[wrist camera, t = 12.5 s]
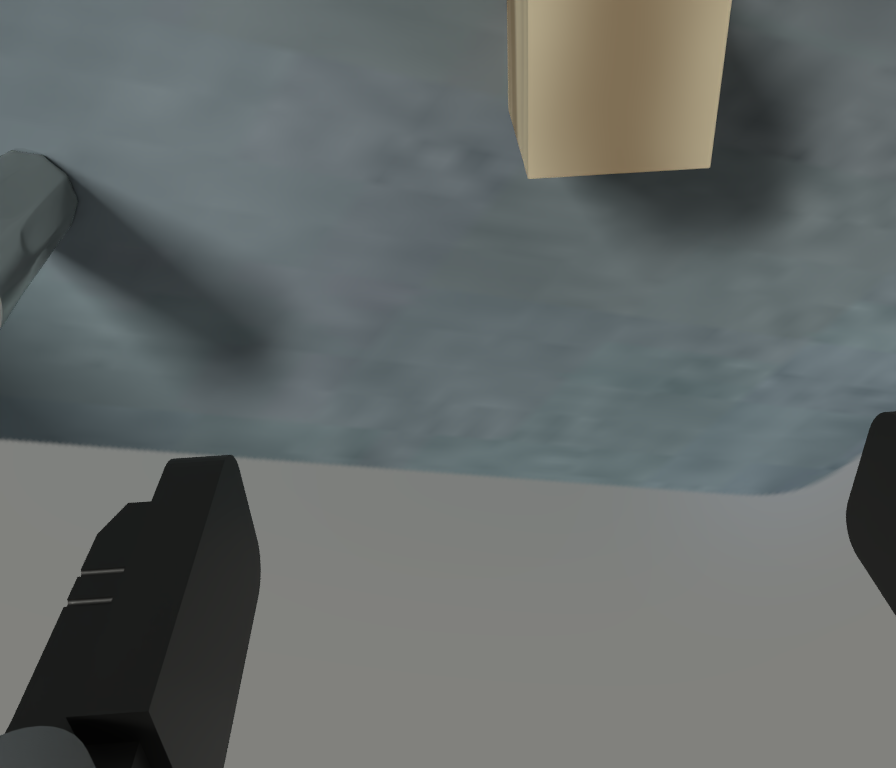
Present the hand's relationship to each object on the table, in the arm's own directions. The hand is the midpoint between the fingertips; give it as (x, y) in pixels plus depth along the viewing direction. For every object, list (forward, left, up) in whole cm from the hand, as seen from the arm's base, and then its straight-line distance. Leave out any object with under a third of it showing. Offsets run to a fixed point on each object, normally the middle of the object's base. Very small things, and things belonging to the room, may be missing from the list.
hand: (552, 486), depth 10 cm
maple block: (+4, +2, -21) cm, 21 cm away
